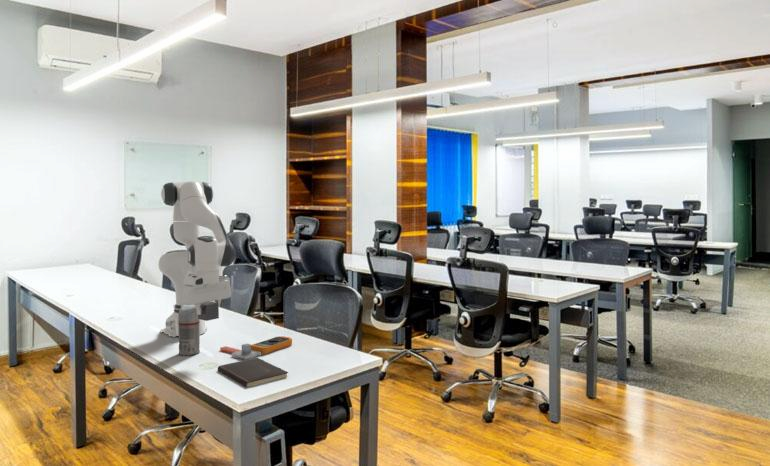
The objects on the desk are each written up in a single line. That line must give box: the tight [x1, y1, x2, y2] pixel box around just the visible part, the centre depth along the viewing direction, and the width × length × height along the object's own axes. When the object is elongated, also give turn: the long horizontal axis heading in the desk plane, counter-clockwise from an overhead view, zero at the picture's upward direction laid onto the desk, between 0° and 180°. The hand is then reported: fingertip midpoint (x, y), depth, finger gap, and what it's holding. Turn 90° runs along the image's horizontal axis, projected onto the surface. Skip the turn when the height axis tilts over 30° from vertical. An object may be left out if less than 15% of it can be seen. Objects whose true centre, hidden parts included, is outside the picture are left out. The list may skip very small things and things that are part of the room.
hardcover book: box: [217, 357, 289, 388], centre depth 188 cm, size 16×23×2 cm
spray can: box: [178, 305, 201, 357], centre depth 213 cm, size 8×8×20 cm
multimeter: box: [251, 335, 293, 355], centre depth 221 cm, size 9×18×3 cm, turn 148°
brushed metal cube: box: [198, 301, 220, 322], centre depth 205 cm, size 6×6×6 cm
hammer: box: [219, 343, 262, 361], centre depth 213 cm, size 19×8×5 cm, turn 54°
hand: (208, 312), depth 205 cm, fingers closed on brushed metal cube, 6 cm apart
